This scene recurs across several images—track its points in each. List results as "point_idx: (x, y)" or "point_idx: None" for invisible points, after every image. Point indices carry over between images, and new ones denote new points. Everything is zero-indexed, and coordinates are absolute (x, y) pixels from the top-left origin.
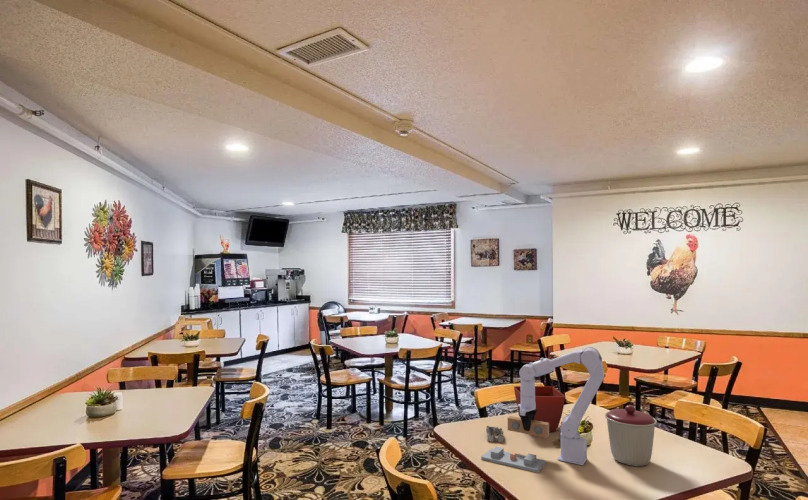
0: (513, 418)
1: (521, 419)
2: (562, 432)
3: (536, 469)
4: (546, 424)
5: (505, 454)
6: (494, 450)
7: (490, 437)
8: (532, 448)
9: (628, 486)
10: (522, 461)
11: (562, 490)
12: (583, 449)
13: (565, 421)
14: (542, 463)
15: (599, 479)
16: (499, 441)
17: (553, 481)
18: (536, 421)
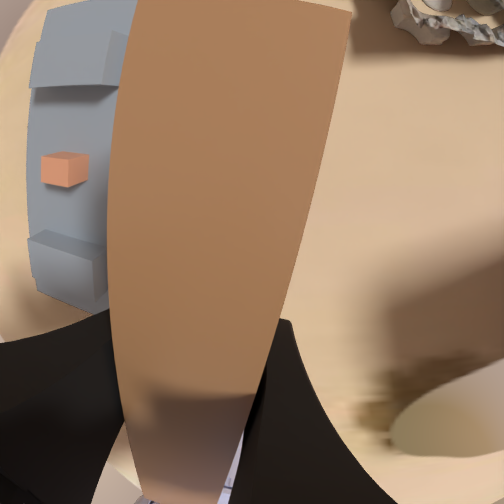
0: (145, 139)
1: (31, 342)
2: (136, 501)
3: (36, 284)
4: (152, 498)
5: (106, 104)
6: (52, 52)
7: None
8: (340, 255)
9: (129, 465)
10: (65, 219)
11: (9, 338)
12: None
13: None
14: (96, 312)
15: (123, 436)
16: (391, 15)
17: (29, 326)
18: (189, 474)
